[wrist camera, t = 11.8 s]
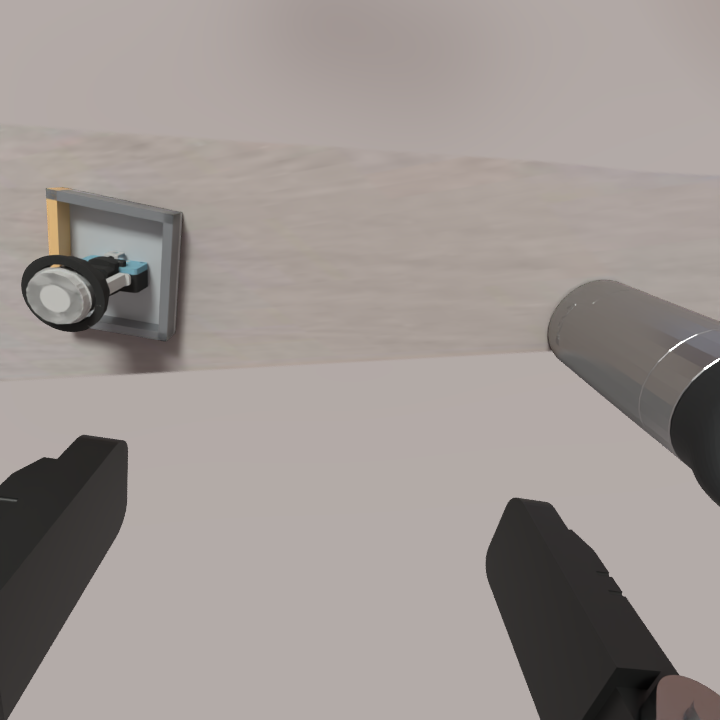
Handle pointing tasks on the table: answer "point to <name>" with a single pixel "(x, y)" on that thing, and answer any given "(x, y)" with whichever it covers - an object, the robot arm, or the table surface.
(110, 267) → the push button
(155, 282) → the tray
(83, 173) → the table surface
